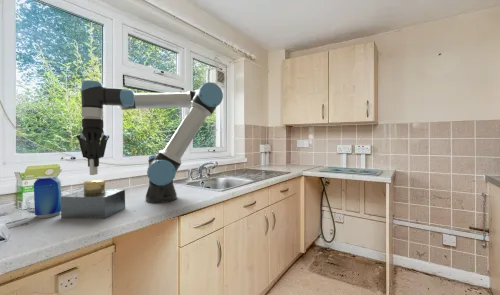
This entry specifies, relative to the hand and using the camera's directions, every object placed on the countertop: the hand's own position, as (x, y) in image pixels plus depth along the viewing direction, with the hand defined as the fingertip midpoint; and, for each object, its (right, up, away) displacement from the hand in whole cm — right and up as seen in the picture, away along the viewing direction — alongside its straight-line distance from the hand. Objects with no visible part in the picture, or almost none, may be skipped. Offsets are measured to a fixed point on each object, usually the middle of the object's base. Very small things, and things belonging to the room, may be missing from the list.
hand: (93, 174), depth 100 cm
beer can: (-17, -17, -3) cm, 24 cm away
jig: (0, -16, +1) cm, 16 cm away
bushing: (0, -16, +1) cm, 16 cm away
